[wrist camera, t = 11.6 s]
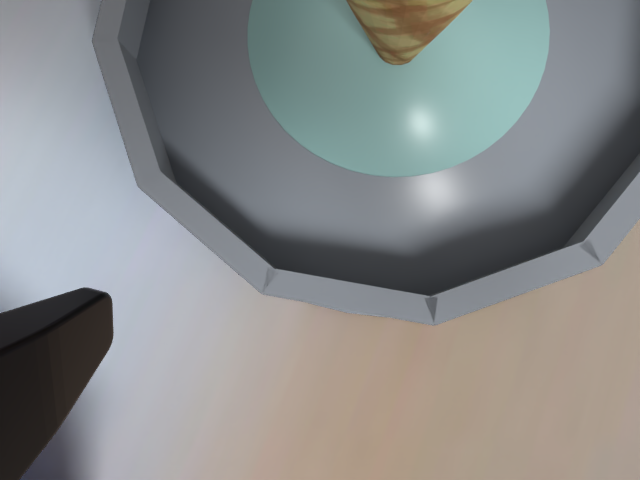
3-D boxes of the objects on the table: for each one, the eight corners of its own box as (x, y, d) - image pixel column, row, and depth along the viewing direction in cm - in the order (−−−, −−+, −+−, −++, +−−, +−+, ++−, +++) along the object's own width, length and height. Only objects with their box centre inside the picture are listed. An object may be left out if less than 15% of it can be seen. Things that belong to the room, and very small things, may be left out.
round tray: (225, 397, 18) (205, 412, 15) (70, -87, 20) (31, -141, 18) (770, 201, 17) (839, 183, 15) (540, -264, 20) (566, -343, 18)
